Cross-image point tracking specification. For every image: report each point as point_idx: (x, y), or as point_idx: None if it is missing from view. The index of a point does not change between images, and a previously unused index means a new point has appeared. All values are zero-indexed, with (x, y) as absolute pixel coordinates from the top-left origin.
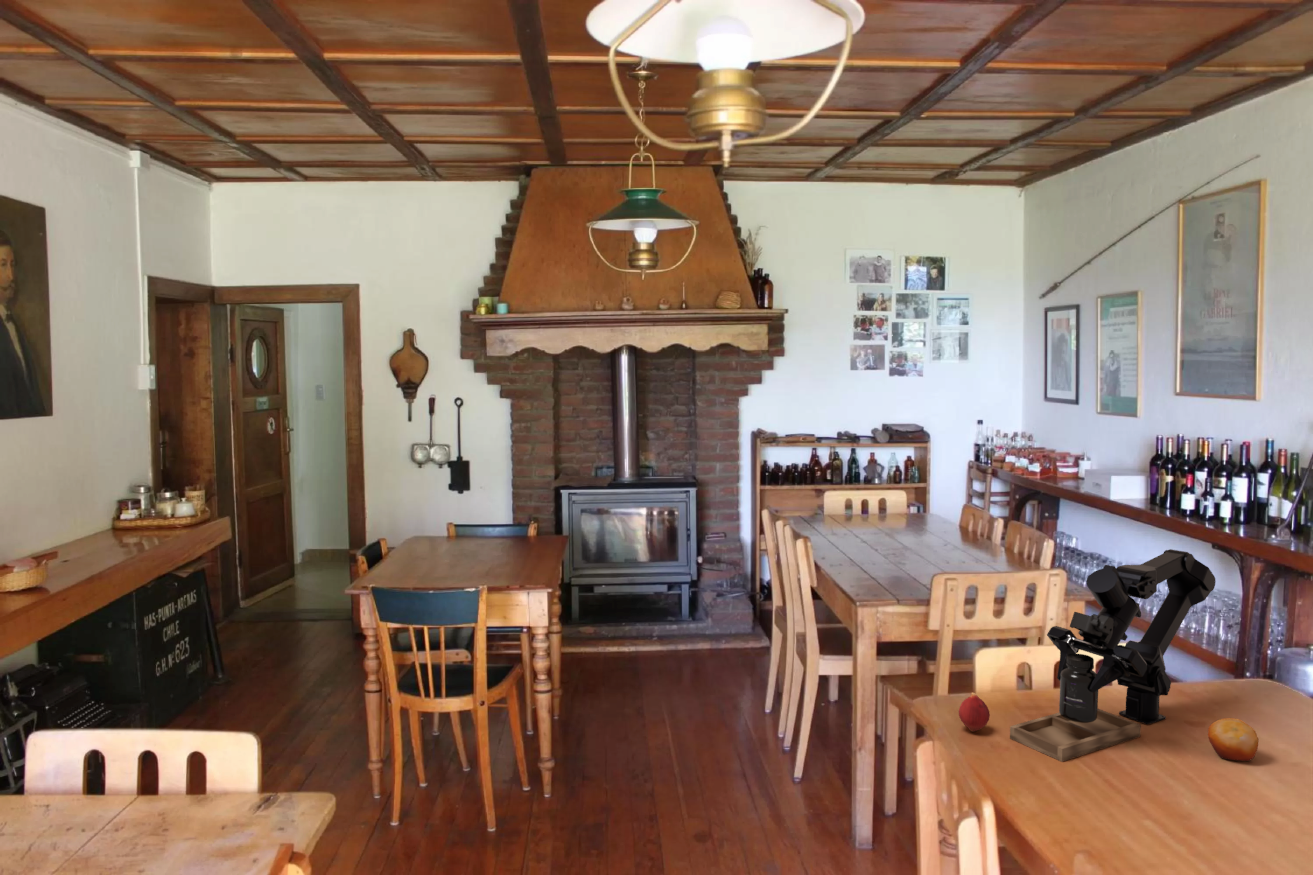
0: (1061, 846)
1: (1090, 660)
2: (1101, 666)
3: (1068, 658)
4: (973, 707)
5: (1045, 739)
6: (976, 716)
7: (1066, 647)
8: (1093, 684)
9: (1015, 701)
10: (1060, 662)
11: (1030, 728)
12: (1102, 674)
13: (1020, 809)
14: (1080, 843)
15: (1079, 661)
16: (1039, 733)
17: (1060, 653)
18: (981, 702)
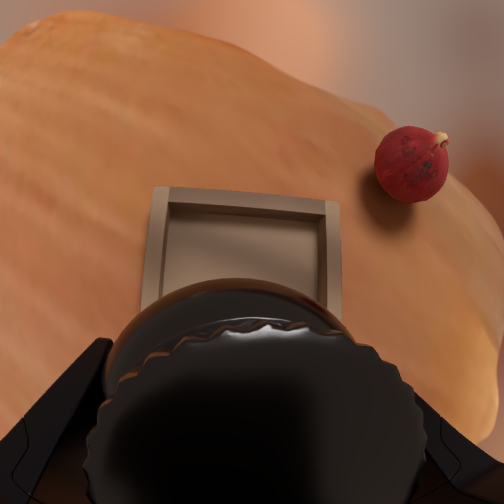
0: (53, 19)
1: (100, 498)
2: (31, 490)
3: (357, 346)
4: (406, 128)
5: (222, 201)
6: (386, 136)
7: (497, 500)
8: (83, 361)
9: (449, 412)
10: (430, 414)
11: (321, 273)
12: (18, 424)
13: (120, 24)
14: (37, 36)
15: (163, 355)
16: (296, 286)
17: (484, 453)
18: (416, 147)
